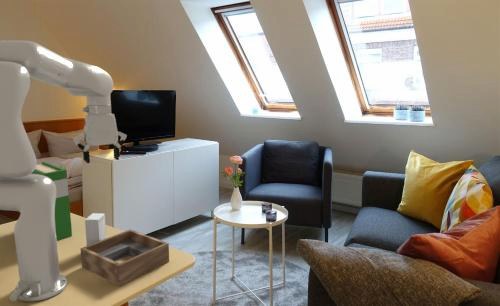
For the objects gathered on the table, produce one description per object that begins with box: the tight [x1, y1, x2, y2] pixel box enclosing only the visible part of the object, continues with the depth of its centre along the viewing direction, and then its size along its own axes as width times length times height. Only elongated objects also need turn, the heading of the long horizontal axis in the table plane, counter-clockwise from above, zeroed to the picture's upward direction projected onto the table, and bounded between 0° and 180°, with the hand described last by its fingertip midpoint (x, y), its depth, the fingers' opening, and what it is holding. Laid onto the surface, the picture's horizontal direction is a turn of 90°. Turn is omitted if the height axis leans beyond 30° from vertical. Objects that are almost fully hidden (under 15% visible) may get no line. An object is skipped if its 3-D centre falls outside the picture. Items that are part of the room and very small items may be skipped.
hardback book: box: [31, 161, 73, 242], centre depth 144 cm, size 18×7×24 cm, turn 49°
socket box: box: [80, 228, 170, 287], centre depth 123 cm, size 18×18×6 cm
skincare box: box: [84, 212, 107, 246], centre depth 130 cm, size 6×4×12 cm
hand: (102, 160), depth 139 cm, fingers open, 9 cm apart
